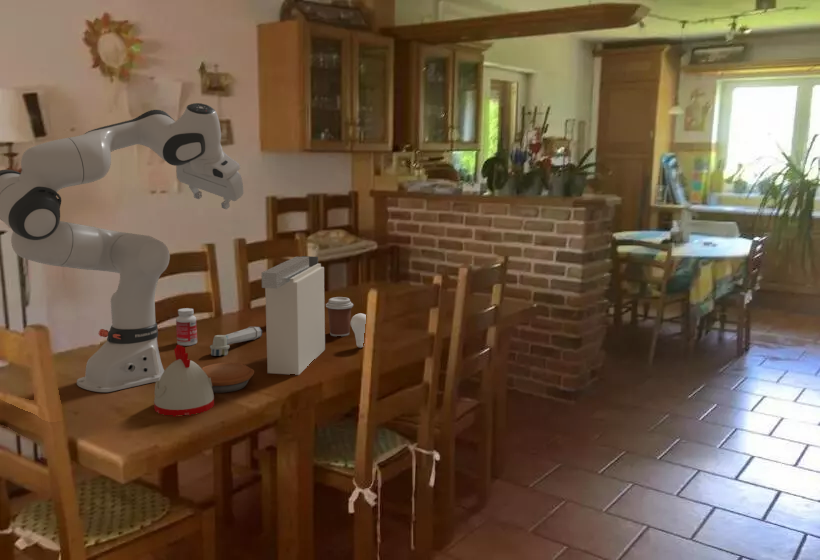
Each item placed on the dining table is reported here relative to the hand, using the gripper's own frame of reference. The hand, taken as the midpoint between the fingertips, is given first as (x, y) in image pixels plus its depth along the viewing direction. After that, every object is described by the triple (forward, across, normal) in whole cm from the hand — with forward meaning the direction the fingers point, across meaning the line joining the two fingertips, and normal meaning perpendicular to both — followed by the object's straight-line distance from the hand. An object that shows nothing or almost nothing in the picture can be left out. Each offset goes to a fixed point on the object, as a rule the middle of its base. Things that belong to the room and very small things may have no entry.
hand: (211, 202), depth 209 cm
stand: (+38, +34, -10) cm, 52 cm away
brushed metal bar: (+12, +28, -6) cm, 31 cm away
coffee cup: (+53, +32, +19) cm, 65 cm away
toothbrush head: (+47, +10, -7) cm, 49 cm away
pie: (+28, +27, -35) cm, 53 cm away
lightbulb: (+44, +45, +9) cm, 64 cm away
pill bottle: (+50, -6, -12) cm, 51 cm away
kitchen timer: (+21, +27, -50) cm, 61 cm away
